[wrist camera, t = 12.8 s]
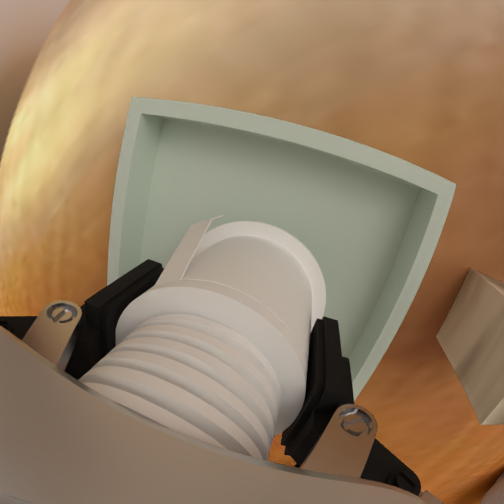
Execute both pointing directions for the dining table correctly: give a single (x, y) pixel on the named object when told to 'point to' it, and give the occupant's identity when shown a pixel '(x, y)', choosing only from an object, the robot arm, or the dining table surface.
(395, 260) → the tray
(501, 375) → the maple block
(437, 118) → the dining table surface
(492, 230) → the dining table surface
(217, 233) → the downlight
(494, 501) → the cereal bowl
